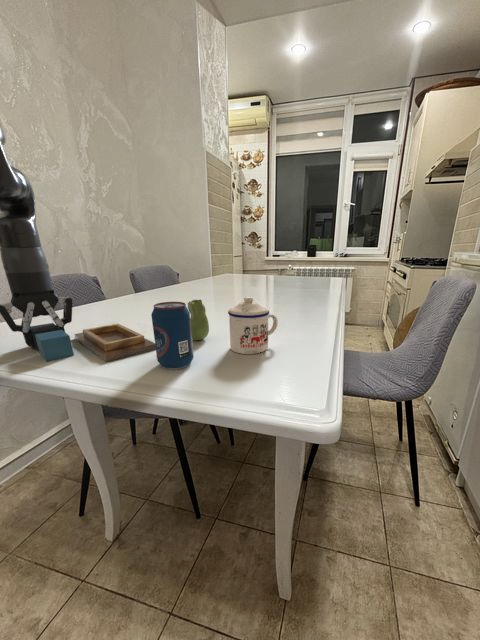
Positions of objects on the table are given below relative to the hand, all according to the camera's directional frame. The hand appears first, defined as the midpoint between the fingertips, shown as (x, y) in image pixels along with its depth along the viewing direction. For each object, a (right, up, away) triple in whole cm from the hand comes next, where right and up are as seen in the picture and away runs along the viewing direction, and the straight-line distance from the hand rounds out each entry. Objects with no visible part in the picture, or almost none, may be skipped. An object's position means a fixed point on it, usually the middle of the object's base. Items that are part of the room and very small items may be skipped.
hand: (47, 343), depth 68 cm
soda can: (+33, -4, -10) cm, 35 cm away
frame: (+15, 0, +2) cm, 15 cm away
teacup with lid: (+49, -1, -1) cm, 49 cm away
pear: (+35, +1, +4) cm, 35 cm away
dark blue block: (0, 0, 0) cm, 0 cm away
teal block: (+6, -2, -5) cm, 9 cm away
